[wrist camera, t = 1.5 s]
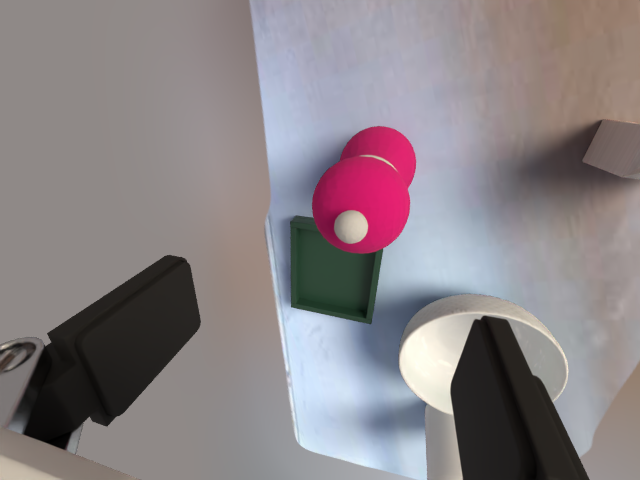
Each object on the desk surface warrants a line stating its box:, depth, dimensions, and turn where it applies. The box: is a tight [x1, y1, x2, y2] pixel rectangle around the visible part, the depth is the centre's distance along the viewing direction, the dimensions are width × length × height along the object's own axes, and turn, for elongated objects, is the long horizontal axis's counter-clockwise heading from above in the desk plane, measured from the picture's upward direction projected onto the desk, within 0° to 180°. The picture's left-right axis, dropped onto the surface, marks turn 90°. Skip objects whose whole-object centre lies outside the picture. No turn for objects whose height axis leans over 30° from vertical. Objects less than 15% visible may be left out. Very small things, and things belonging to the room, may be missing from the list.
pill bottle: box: [425, 404, 463, 480], centre depth 39 cm, size 8×8×15 cm
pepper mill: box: [312, 126, 416, 254], centre depth 23 cm, size 7×7×20 cm
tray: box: [290, 216, 383, 324], centre depth 39 cm, size 14×12×2 cm
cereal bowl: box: [398, 294, 568, 416], centre depth 35 cm, size 17×17×7 cm
